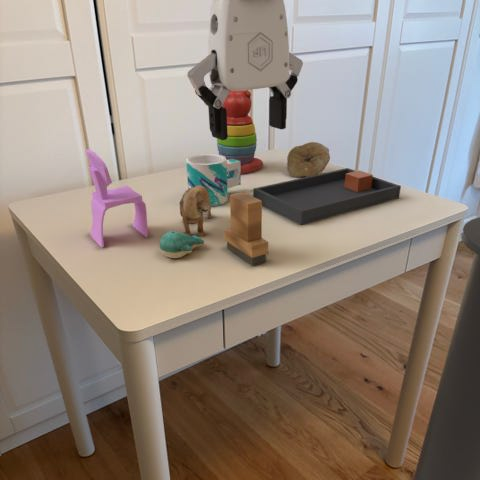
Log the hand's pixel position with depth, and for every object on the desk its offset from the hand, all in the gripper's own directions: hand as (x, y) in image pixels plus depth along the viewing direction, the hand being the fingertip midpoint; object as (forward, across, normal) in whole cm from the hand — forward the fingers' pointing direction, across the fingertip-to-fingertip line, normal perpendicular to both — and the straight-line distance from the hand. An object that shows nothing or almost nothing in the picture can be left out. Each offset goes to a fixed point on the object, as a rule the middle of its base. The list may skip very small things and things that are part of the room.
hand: (249, 132), depth 69 cm
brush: (+19, -1, 0) cm, 19 cm away
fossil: (+19, +35, +29) cm, 50 cm away
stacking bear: (+19, +24, +42) cm, 52 cm away
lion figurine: (+19, -2, +14) cm, 24 cm away
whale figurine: (+19, -9, +7) cm, 22 cm away
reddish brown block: (+19, +36, +14) cm, 43 cm away
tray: (+19, +27, +13) cm, 36 cm away
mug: (+19, +9, +27) cm, 35 cm away
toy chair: (+19, -15, +19) cm, 31 cm away
